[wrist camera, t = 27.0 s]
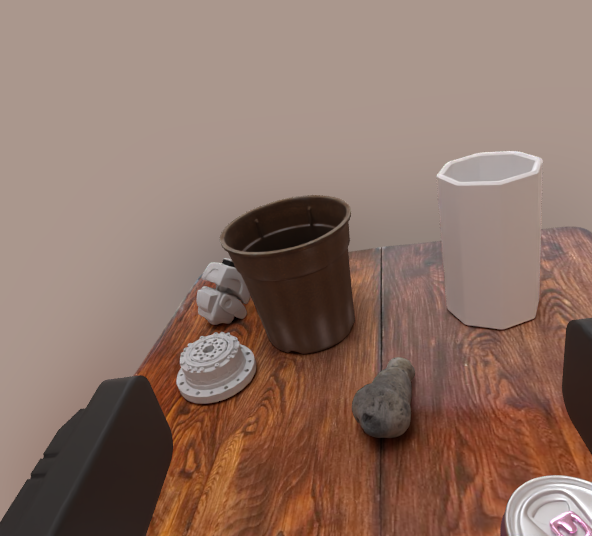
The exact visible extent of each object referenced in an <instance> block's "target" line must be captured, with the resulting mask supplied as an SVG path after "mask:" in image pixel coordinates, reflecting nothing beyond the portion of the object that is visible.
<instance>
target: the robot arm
mask: <svg viewBox="0 0 592 536" xmlns="http://www.w3.org/2000/svg"><path fill="white" fill-rule="evenodd" d="M562 392H563V398H564V403H565V406H566V409H567V412H568V415H569V417H570V419H571V421H572V423H573V424H574V426H575V428H576V429H577V431H578V433H579V434H580V436H581V438H582V439H583V441H584V442H585V444H586V446H587V447H588V449H589V451H590V452H591V454H592V318H586V319H579V320H572V321H570V322H569V323H568V325H567V328H566V339H565V353H564V367H563V381H562ZM172 452H173V440H172V433H171V430H170V427H169V425H168V423H167V421H166V418H165V416H164V414H163V412H162V409H161V407H160V405H159V403H158V400H157V398H156V396H155V394H154V392H153V389H152V387H151V385H150V383H149V381H148V380H147V378H145V377H144V376H141V375H140V376H132V377H125V378H118V379H111V380H105V381H103V382H102V383H101V384H100V386H99V387H98V389H97V390H96V392H95V394H94V395H93V397H92V399H91V400H90V402H89V404H88V405H87V407H86V408H85V409H80V410H79V411H78V412H77V413H76V414H75V415H74V416H73V417H72V418H71V419H70V420H69V421H68V422H67V423H66V424H64V425H63V426H62V427H61V428H60V429H59V430H58V432H57V433H56V435H55V436H54V438H53V440H52V441H51V443H50V444H49V446H48V448H47V449H46V451H45V452H44V458H43V459H40V460H39V462H38V463H37V465H36V466H35V468H34V470H33V471H32V473H31V479H28V480H27V481H26V482H25V484H24V486H23V487H22V489H21V490H20V492H19V493H18V495H17V497H16V498H15V500H14V501H13V503H12V504H11V506H10V508H9V509H8V511H7V512H6V514H5V515H4V517H3V519H2V521H1V522H0V536H146V533H147V530H148V527H149V524H150V521H151V518H152V515H153V513H154V510H155V507H156V504H157V501H158V498H159V495H160V492H161V489H162V486H163V483H164V480H165V477H166V474H167V471H168V468H169V465H170V462H171V459H172Z"/></svg>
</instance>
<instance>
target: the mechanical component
mask: <svg viewBox="0 0 592 536" xmlns="http://www.w3.org/2000/svg"><path fill="white" fill-rule="evenodd" d="M183 350H184V352H182V353H181V357H180V365H181V369H180V371H179V373H178V375H177V382H176V383H177V385H178V388H179V390H180V392H181V395H182V396H183V397H184V398H185V399H187V400H188V401H190V402H194V403H203V404H208V403H213V402H218V401H221V400H224V399H227V398H229V397H231V396H233V395H235V394H236V393H238V392H239V391H241V390H242V389H243V388H244V387H245V386H246V385H247V384H248V383H249V382H250V381H251V380H252V378H253V376H254V374H255V372H256V361H255V358H254V355H253V353H252V351H251V350H250V349H249V348H247V347H246V346H243V345H240V343H239V341H238V339H237V338H235V337H234V336H231V335H230V333H226V334H224V332H221V333H220V334H218V333H217V332H215V333H214V334H213V335H209V336H206V337H204V336H201V337H200V339H199V340H197V341H196V342H194V343H193V344H192V343H189V344H188V348H187V347H186V348H184V349H183Z"/></svg>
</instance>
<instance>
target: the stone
mask: <svg viewBox="0 0 592 536" xmlns="http://www.w3.org/2000/svg"><path fill="white" fill-rule="evenodd" d="M414 376H415V369H414V367H413V366H412V365H411V363H410V362H409V360H407V359H405V358H400V357H397V358H393V359H392V360H390V361H389V363H388V365H387V369H384V370H383V371H381V372H380V373H379V374H378V375H377V376H376V377H375V378H374V380H373V382H372V383H371V384H367V385H365V386H364V387H363V388H361V389H360V390H358V391H357V393H356V394H355V396H354V399H353V402H352V412H353V415H354V417H355V419H356V420H357V422H358V423H359V424H360V425H361V427H362V428H363V430H364V431H365V433H366V434H368V435H370V436H372V437H376V438H384V437H385V438H394V437H398V436H400V435H402V434H403V433H404V432H405V431H406V430H407V429H408V427H409V425H410V420H411V407H410V402H411V392H412V388H411V380H412V379H413V378H414Z"/></svg>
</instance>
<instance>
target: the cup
mask: <svg viewBox="0 0 592 536" xmlns="http://www.w3.org/2000/svg"><path fill="white" fill-rule="evenodd" d="M542 167H543V160H542V159H541V158H539V157H536V156H532V155H529V154H525V153H522V152H517V151H502V152H485V153H476V154H473V155H469V156H466V157H463V158H459V159H456V160H452V161H449V162H447V163H446V164H445V165H444V167H443V168H442V169H441V170H440V172H439V173H438V174H437V176H436V179H437V191H438V204H439V216H440V229H441V242H442V254H443V267H444V280H445V292H446V305H447V309H448V310H449V311H450V312H451V313H452V314H454V315H455V316H456V317H457V318H458V319H459V320H460V321H461V322H463V323H464V324H465V325H471V326H479V327H486V328H494V329H506V328H509V327H512V326H514V325H517V324H520V323H523V322H526V321H528V320H531V319H534V318H535V316H536V312H537V307H538V303H539V288H540V249H541V209H542V208H541V207H542V169H543V168H542Z"/></svg>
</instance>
